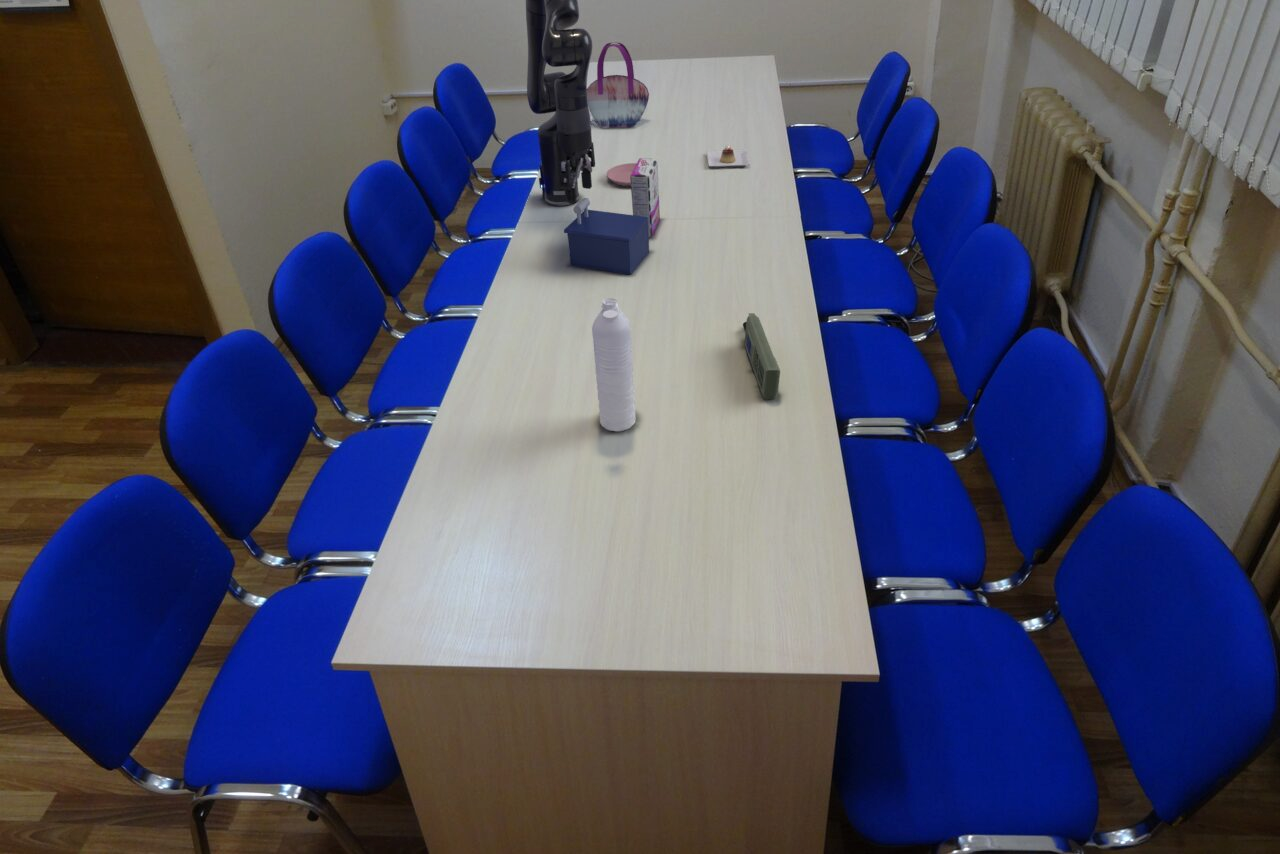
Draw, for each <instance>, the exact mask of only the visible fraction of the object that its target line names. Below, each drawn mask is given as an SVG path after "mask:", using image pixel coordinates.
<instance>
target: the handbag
mask: <svg viewBox="0 0 1280 854" xmlns="http://www.w3.org/2000/svg"><path fill="white" fill-rule="evenodd" d="M610 47H615V48H617V49H618V50H619V52H620V54H621V56H622V58H623V59H624V63H625V65H626V74H627V75H623V74H612V75H606V76H605V75H604V66H605V65H604V64H605V63H604V62H605V58H606V54H607V52H608V49H609V48H610ZM630 54H631V53H630V51H629V50H628V48H627V47H626V45H625V44H623V43H622V42H615V41H614V42H608V43H606V44H605V45H604V46H603V48H602V49H601V51H600V54H599V56H598V60H597V64H596V65H597V67H596V80H594V81H593V82H591V83H590V84H589V85H588V86H587V97H588V108H589V113H590V117H591V116H592V119H593V120H594V122H595V123H596V125H598V126H599V127H600V128H603V129H615V128H616V129H617V128H618V129H619V128H621V129H626V128H632V127H634V126H636V125H637V123H638V122H640V120H641V118H642V117H643V115H644V113H645V111H646V108H647V105H648V103H649V98H650V93H649V89H648V87H647V86H646V85H645V84H644V83H643V82H641V81H640V80H639V79H636V78H635V73H634V64H633V60H632V57H631V55H630Z"/></svg>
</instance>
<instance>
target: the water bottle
mask: <svg viewBox="0 0 1280 854" xmlns="http://www.w3.org/2000/svg"><path fill="white" fill-rule="evenodd" d="M591 333H592V340H593V342H592V343H593V352H594V354H593V355H594V363H595V364H594V365H595V366H594V367H595V375H596V378H595V379H596V390H597V401H598V411H599V413H598V414H599V422H600V425H601V427H603V428H604V429H605V430H607V431H611V432H613V431H614V432H623V431H626V430H628V429H630V428H632V426H634V424H635V423H636V409H635V408H636V402H635V385H634V365H633V351H632V329H631V323H630V321H629V319H628V317H627V316H626V315H625V314H624V313H623V312H622V311H621V310H620V309H619V304H618V303H617V300H616V298H613V297H608V298H605V299H603V300H602V304H601V310H600V311H599V313H598V315H597V316H596V317H595V319H594V321H593V323H592V326H591Z"/></svg>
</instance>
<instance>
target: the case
mask: <svg viewBox="0 0 1280 854" xmlns="http://www.w3.org/2000/svg"><path fill="white" fill-rule="evenodd" d="M566 234H567V243H568V254H569V263H570V267H578V268H584V269H585V268H586V269H591V270H597V271H604V272H612V273H618V274H625V275H632V273H634V271H635V270H636V269H637V268H638V266H639V265H640V264H641V263H642V262H643V261H644V259H645V258H646V256H648V254H649V253H650V238H649V234H648V221H647V222H646V223H645V224H644V225H643V226H642V227H641V229H640V230H639V231H638V232H637V233H636V234H635V235H634V236H633V238H632V239H631V240H630V241H629V242H628V241H620V240H613V239H605V238H598V237H591V236H583V235H576V234H568V233H566Z"/></svg>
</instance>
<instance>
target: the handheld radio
mask: <svg viewBox="0 0 1280 854" xmlns="http://www.w3.org/2000/svg"><path fill="white" fill-rule="evenodd" d="M742 327H743V329H744V333H745V334H744V346H745V349H746V352H747V355H748V358H749V361H750V364H751V367H752V369H753V370H752V371H753V372H754V375H755V379H756V382H757V384H758V387H759V390H760V393H761V395H762V396H761V397H762V398H763V399H764V400H765V401H767V400H774V399H775V398H776V397H777V395H778V393H779V385H780V378H781V377H780V376H781V369H780V367H779V364H778V361H777V359H776V357H775V356H774V353H773V351H772V348H771V346H770V343H769V341H768V338H767V335H766V333H765V330H764V327H763V325H762V323H761V320H760V318H759V316H757V315H756V314H755V312H748V316H747V317H746V321H745V322H743V324H742Z"/></svg>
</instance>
